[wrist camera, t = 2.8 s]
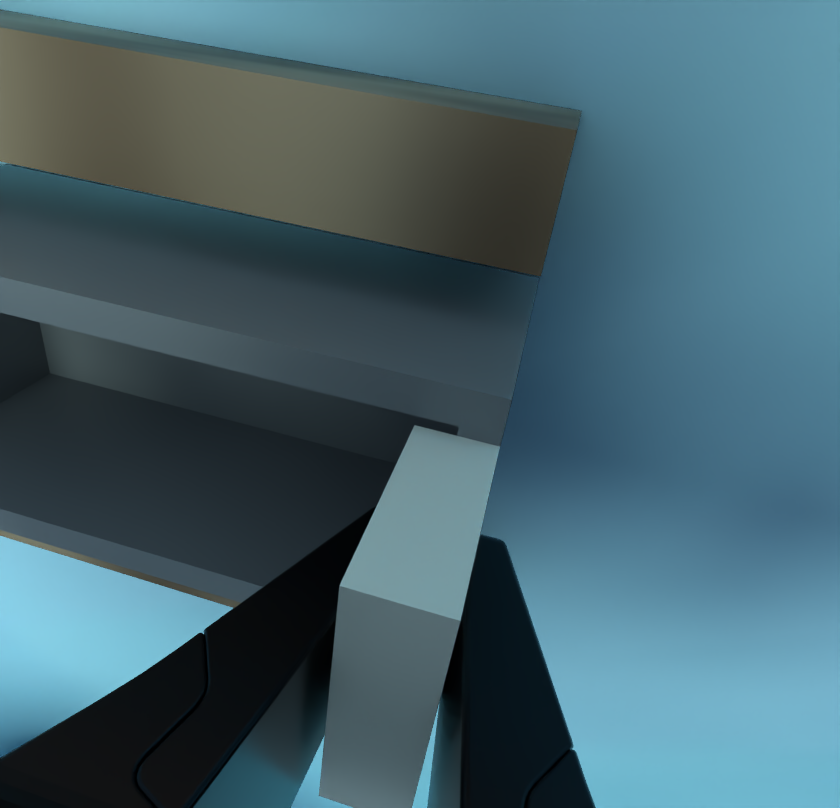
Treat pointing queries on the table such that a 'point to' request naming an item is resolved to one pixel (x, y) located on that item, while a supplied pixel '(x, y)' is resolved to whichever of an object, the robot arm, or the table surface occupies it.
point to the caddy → (261, 426)
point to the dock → (284, 146)
